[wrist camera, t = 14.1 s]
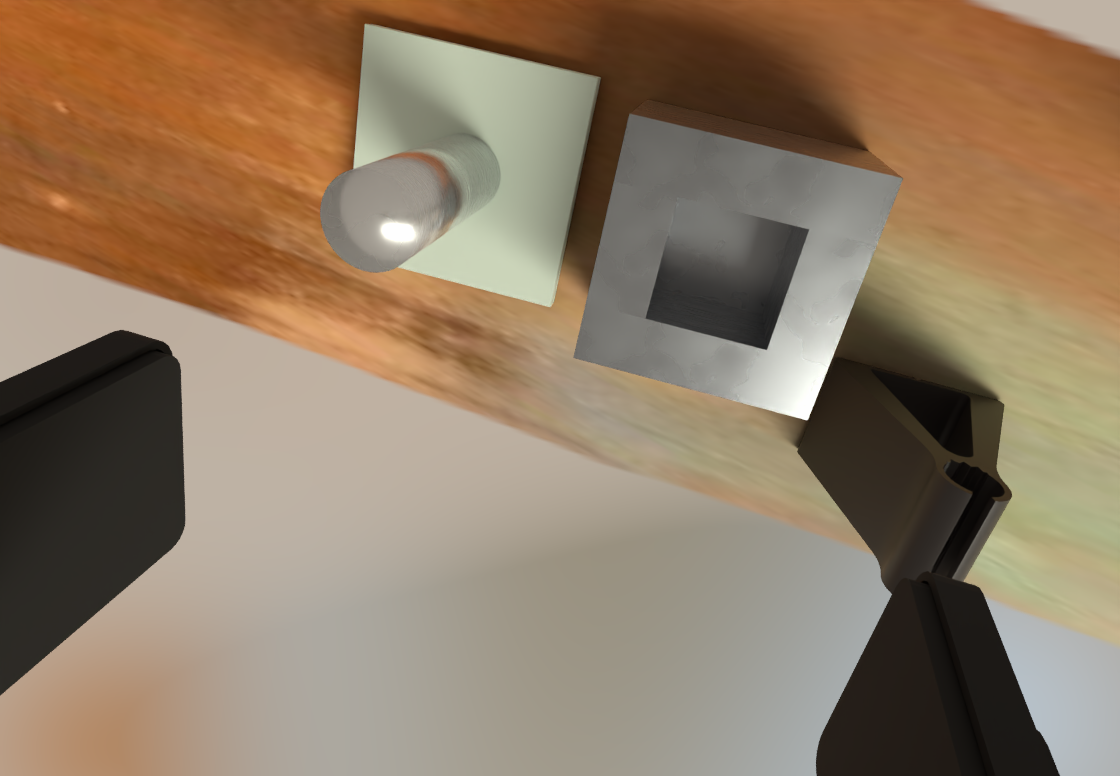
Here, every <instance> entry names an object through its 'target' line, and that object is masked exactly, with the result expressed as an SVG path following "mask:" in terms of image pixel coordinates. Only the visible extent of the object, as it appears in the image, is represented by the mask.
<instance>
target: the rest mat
mask: <svg viewBox="0 0 1120 776" xmlns="http://www.w3.org/2000/svg"><path fill="white" fill-rule="evenodd" d="M600 80H601V77H598V76H593V75H589V74H585V73H581V72H576V71H572V70H568V69H563V68H559V67H555V66H551V65H546V64H542V63H538V62H533V61H529V60H525V59H521V58H516V57H512V56H508V55H503V54H499V53H495V52H491V51H486V50H482V49H478V48H473V47H469V46H465V45H461V44H456V43H452V42H448V41H443V40H439V39H435V38H431V37H426V36H422V35H418V34H413V33H409V32H405V31H401V30H396V29H392V28H388V27H383V26H379V25H375V24H365V29H364V42H363V54H362V67H361V79H360V92H359V104H358V117H357V129H356V142H355V155H354V167H353V169H355V168H358V167H360V166H363V165H366V164H369V163H372V162H375V161H378V160H380V159H383V158H386V157H389V156H392V155H395V154H398V153H400V152H403V151H406V150H409V149H412V148H415V147H418V146H420V145H423V144H426V143H429V142H432V141H435V140H438V139H440V138H443V137H446V136H449V135H452V134H458V133H465V134H470V135H473V136H476V137H478V138H480V139H481V140H483V141H484V142H485V143H486V144H487V145H488V146H489V147H490V148H491V149H492V151H493V152H494V154H495V155H496V157H497V160H498V162H499V166H500V172H501V179H500V185H499V189H498V191H497V193H496V195H495V197H494V198H493V200H492V201H491V202H490V203H489V204H487V205H486V206H485V207H483V208H482V209H480V210H479V211H478V212H476V213H475V214H473V215H472V216H470V217H469V218H467V219H466V220H465V221H463V222H462V223H460V224H459V225H457V226H456V227H455V228H453V229H452V230H450V231H449V232H447V233H446V234H444V235H443V236H442V237H440V238H439V239H437V240H436V241H434V242H433V243H431V244H430V245H429V246H427V247H426V248H424V249H423V250H421V251H420V252H419V253H417V254H416V255H414V256H413V257H411V258H410V259H408V260H407V261H406V262H404V263H403V264H401V265H400V266H398V267H399V268H403V269H407V270H410V271H414V272H418V273H422V274H426V275H429V276H433V277H437V278H441V279H445V280H449V281H452V282H456V283H460V284H464V285H468V286H471V287H475V288H479V289H483V290H487V291H490V292H494V293H498V294H502V295H506V296H510V297H513V298H517V299H521V300H525V301H529V302H532V303H536V304H540V305H544V306H548V307H551V306H552V304H553V303H554V300H555V295H556V290H557V285H558V280H559V276H560V271H561V266H562V261H563V257H564V252H565V247H566V242H567V237H568V233H569V228H570V223H571V218H572V214H573V209H574V204H575V199H576V195H577V190H578V185H579V180H580V175H581V171H582V166H583V161H584V156H585V152H586V147H587V142H588V137H589V132H590V128H591V123H592V118H593V113H594V109H595V104H596V99H597V94H598V90H599V85H600Z"/></svg>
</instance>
